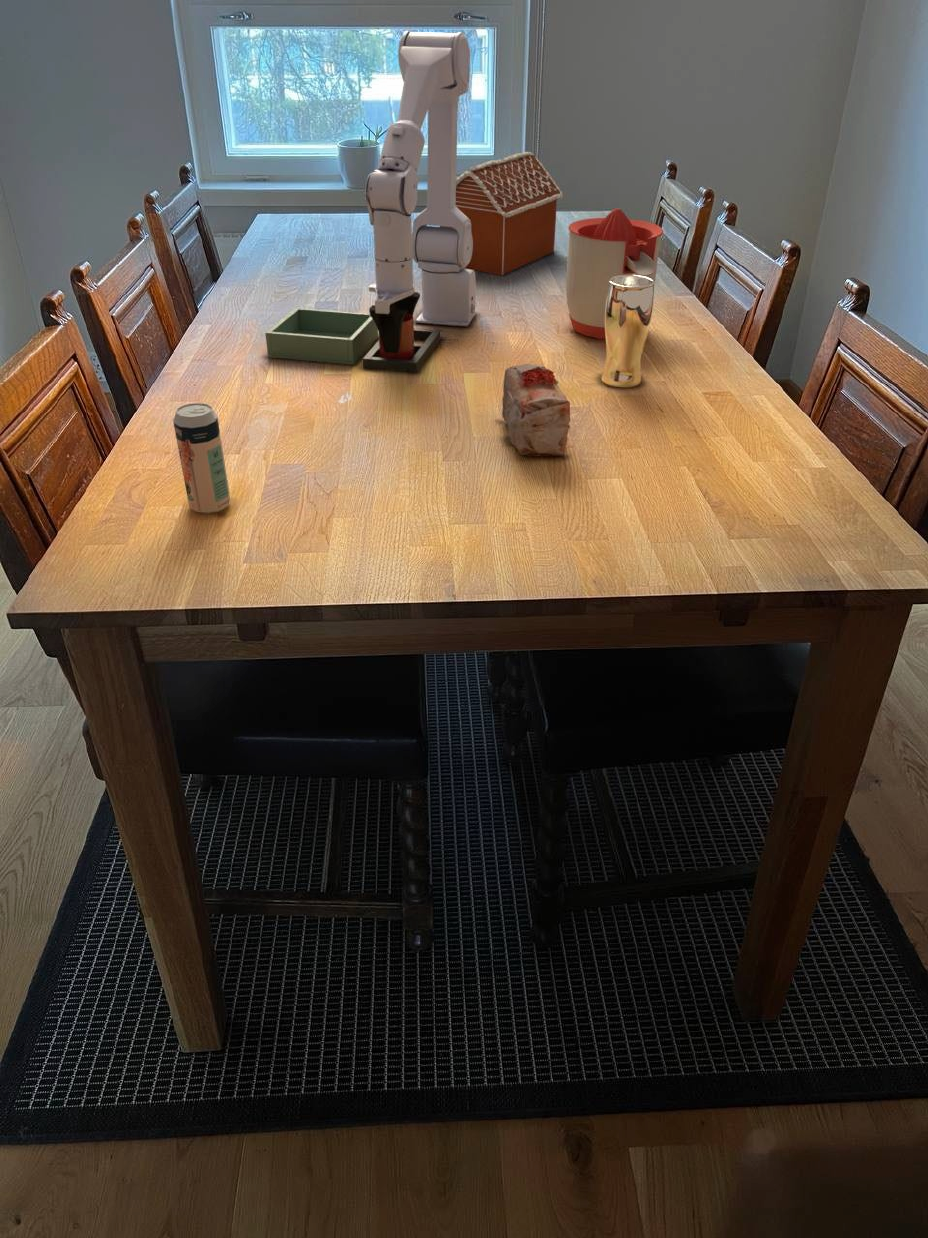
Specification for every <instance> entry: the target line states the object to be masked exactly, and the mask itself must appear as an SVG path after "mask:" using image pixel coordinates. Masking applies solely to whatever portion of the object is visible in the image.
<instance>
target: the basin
mask: <svg viewBox="0 0 928 1238" xmlns="http://www.w3.org/2000/svg"><path fill="white" fill-rule="evenodd" d="M264 334H265V341H266V343H265V344H266V350H267V358H272V359H282V360H283V359H284V360H285V359H286V360H294V361H295V360H296V361H306V362H319V363H330V364H331V363H332V364H343V365H350V366H351V365H355V364H356V363H357V362H358V361H359V360H360V359H361V357H362V356H364V354H365V353H366V352H367V351H368V349H370V347H371V346H372V345H373V344H374V343H375V342H376V341H377V339H379V331H378V328H377V326H376V324H375V322H374V320H373V319H372V317H371V316H370V313H369V312H367V313H366V312H355V311H342V310H331V309H317V308H305V307H304V308H303V307H295V308H294V309H292V310H291V311H290V312H289V313H287V315H286V316H284V317H283V318H282V319H280V320H279V321H278V322H276V324H274V325H273V326H272V327H271V328H269V329H268V330H266V332H265V333H264Z"/></svg>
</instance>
